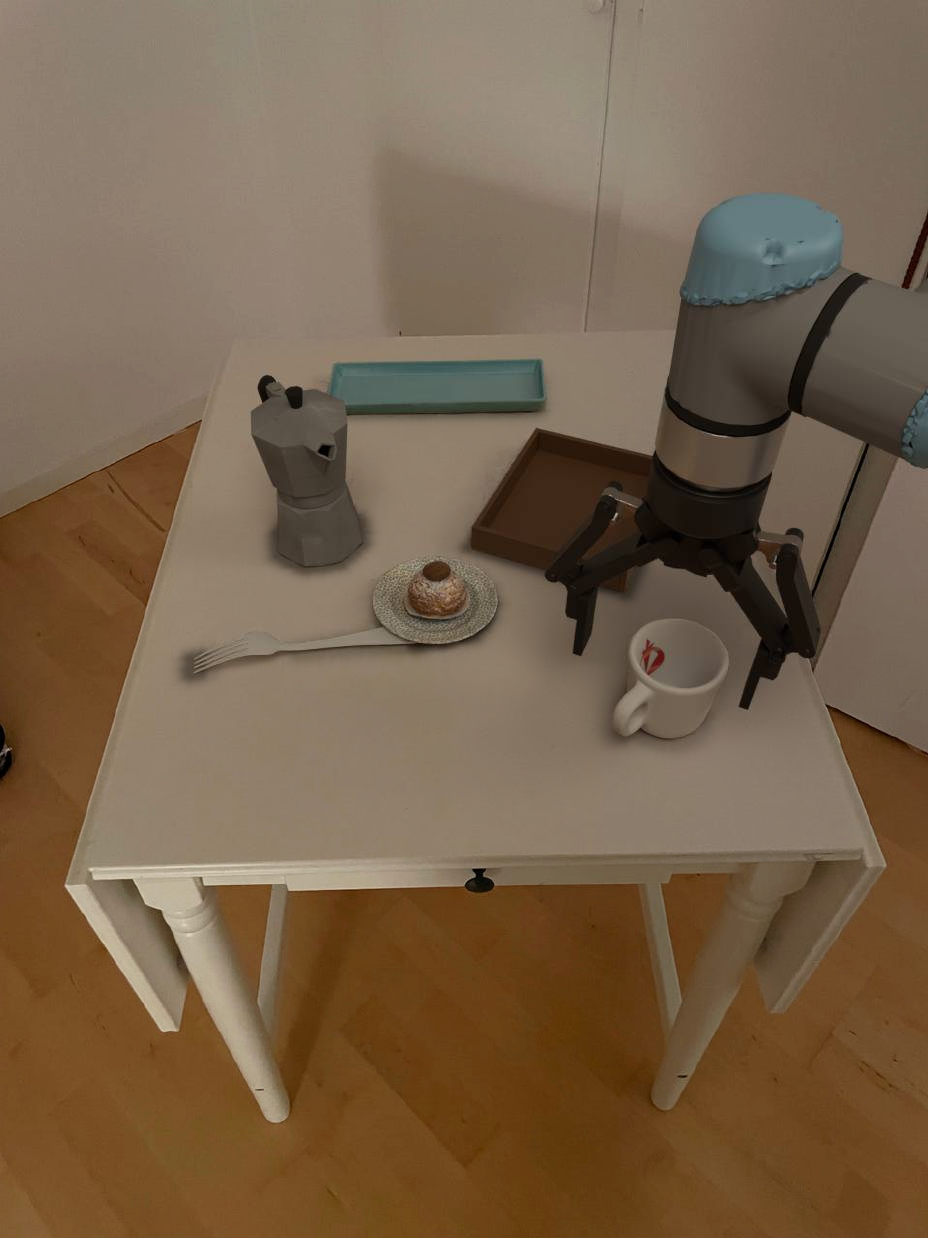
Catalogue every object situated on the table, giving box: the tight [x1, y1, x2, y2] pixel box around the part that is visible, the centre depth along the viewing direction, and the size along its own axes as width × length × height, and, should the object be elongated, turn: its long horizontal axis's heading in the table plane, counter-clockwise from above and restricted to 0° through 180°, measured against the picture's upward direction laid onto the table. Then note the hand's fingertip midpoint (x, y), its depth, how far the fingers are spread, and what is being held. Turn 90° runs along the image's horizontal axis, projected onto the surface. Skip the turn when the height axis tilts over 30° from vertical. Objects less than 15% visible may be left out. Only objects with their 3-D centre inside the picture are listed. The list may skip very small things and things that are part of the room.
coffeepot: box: [250, 374, 363, 568], centre depth 89 cm, size 15×9×18 cm, turn 32°
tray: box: [471, 427, 653, 594], centre depth 96 cm, size 16×18×3 cm
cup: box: [611, 617, 730, 740], centre depth 76 cm, size 11×8×8 cm
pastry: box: [371, 555, 499, 645], centre depth 86 cm, size 12×12×5 cm
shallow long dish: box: [327, 358, 547, 415], centre depth 111 cm, size 26×9×2 cm, turn 89°
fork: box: [193, 626, 419, 674], centre depth 85 cm, size 3×21×3 cm, turn 100°
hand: (662, 669), depth 74 cm, fingers open, 13 cm apart
